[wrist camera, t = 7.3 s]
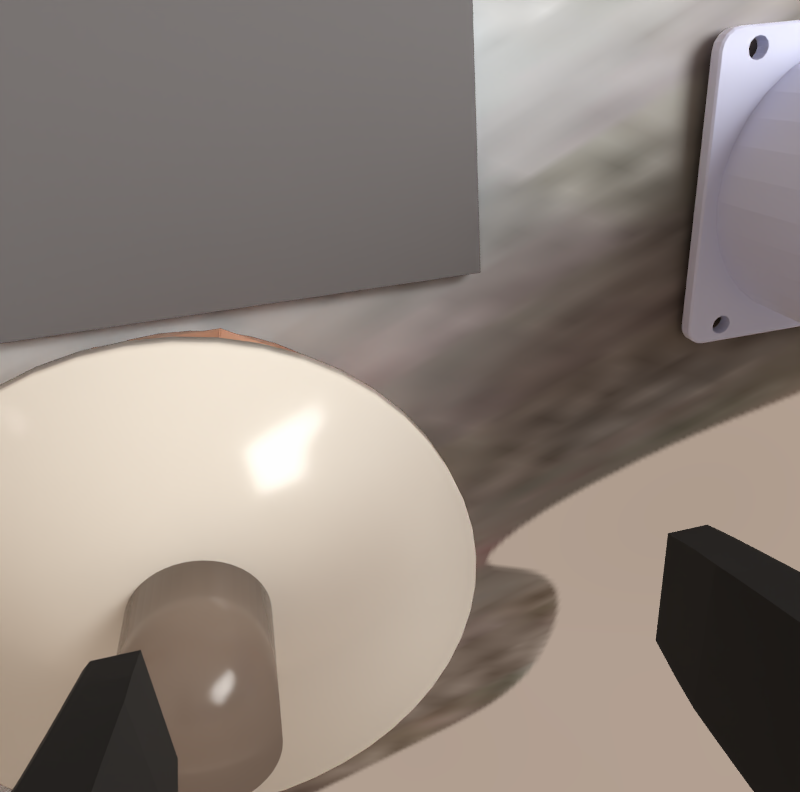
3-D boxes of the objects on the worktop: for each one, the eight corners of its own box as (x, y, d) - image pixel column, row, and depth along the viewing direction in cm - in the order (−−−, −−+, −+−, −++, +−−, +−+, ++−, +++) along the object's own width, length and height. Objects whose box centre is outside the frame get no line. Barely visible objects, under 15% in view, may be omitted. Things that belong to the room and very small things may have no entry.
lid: (454, 288, 14) (531, 366, 11) (478, 720, 20) (533, 864, 16) (-258, 401, 12) (-461, 545, 9) (0, 845, 18) (-57, 1040, 14)
